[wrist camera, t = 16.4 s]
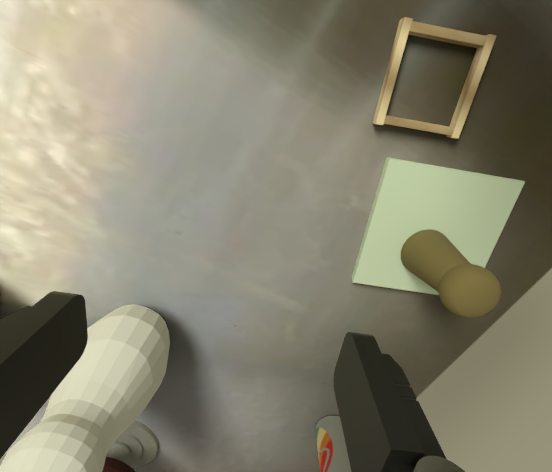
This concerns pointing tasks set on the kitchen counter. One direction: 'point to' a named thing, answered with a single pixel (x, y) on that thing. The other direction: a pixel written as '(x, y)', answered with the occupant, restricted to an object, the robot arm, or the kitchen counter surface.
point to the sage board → (431, 218)
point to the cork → (450, 274)
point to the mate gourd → (131, 449)
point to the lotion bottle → (332, 445)
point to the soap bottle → (97, 395)
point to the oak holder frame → (469, 88)
